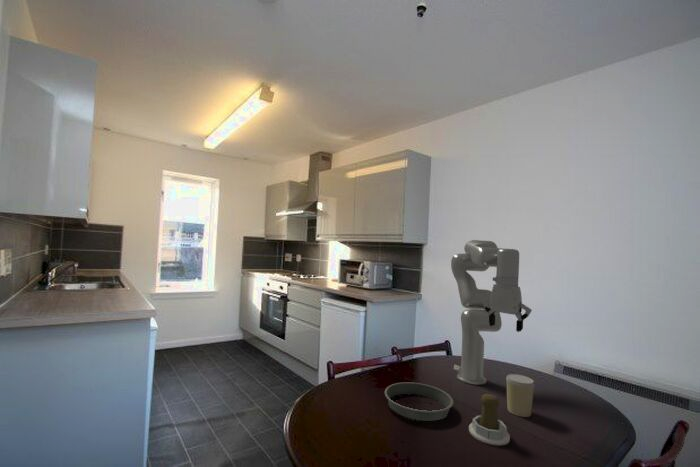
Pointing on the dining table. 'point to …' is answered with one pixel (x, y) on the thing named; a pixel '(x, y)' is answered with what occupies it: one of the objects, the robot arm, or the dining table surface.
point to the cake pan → (421, 390)
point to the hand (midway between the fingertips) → (505, 328)
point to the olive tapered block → (489, 412)
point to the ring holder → (489, 433)
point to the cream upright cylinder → (519, 394)
